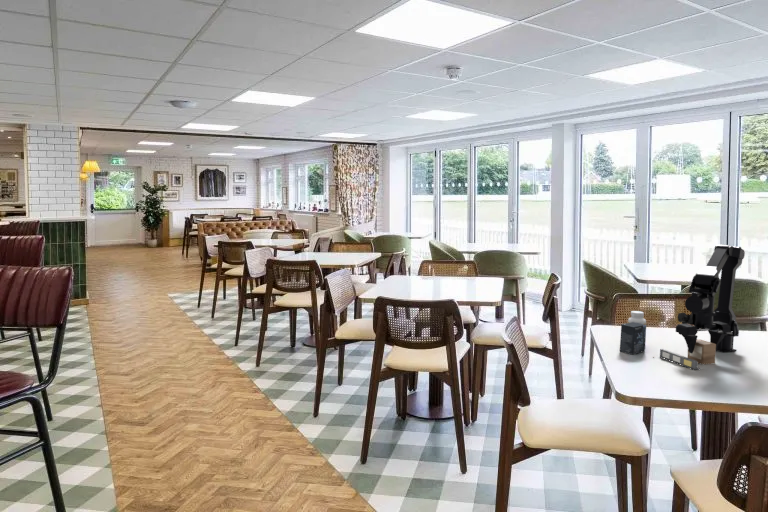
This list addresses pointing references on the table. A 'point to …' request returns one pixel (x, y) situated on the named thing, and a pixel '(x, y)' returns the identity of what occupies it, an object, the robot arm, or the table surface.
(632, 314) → the supplement bottle
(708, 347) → the tea box
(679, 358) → the rail
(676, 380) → the table surface
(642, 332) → the box
